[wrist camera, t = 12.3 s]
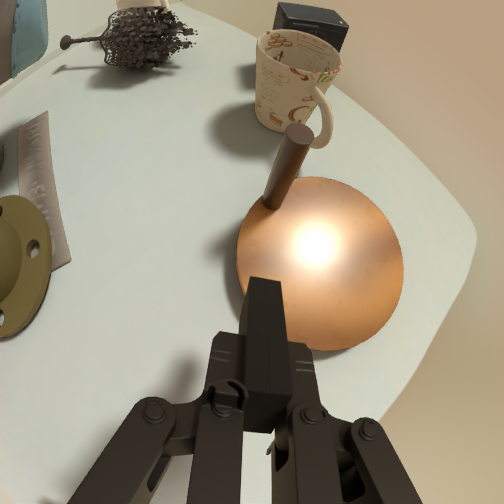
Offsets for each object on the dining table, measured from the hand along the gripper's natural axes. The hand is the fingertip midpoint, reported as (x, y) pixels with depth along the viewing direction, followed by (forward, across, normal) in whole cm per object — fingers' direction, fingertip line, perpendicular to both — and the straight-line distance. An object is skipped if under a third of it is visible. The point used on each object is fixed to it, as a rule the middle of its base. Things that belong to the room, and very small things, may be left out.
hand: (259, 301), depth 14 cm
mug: (+22, +2, +8) cm, 24 cm away
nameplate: (+15, -23, +1) cm, 28 cm away
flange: (+7, -19, -3) cm, 20 cm away
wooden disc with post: (+10, +6, -2) cm, 12 cm away
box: (+31, +2, +16) cm, 35 cm away
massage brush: (+21, -23, +20) cm, 37 cm away
